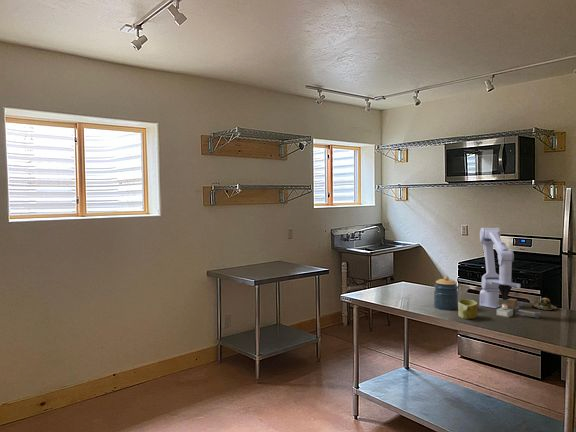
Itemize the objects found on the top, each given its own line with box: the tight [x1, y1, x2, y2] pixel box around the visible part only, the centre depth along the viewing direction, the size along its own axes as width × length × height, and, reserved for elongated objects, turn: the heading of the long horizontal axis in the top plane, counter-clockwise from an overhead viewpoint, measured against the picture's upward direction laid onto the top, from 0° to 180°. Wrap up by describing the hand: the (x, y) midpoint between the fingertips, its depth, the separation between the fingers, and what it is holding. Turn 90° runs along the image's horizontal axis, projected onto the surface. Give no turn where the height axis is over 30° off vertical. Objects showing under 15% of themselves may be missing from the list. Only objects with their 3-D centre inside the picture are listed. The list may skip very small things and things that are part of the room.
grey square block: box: [495, 307, 514, 318], centre depth 237 cm, size 6×6×3 cm
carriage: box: [506, 298, 520, 315], centre depth 241 cm, size 5×6×7 cm
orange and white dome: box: [501, 303, 508, 309], centre depth 236 cm, size 3×3×2 cm
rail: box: [500, 306, 542, 319], centre depth 238 cm, size 18×5×3 cm, turn 42°
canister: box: [433, 275, 460, 311], centre depth 253 cm, size 13×13×18 cm
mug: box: [457, 298, 479, 320], centre depth 233 cm, size 12×10×10 cm
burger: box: [531, 295, 558, 312], centre depth 250 cm, size 12×12×8 cm
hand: (504, 299), depth 236 cm, fingers closed
